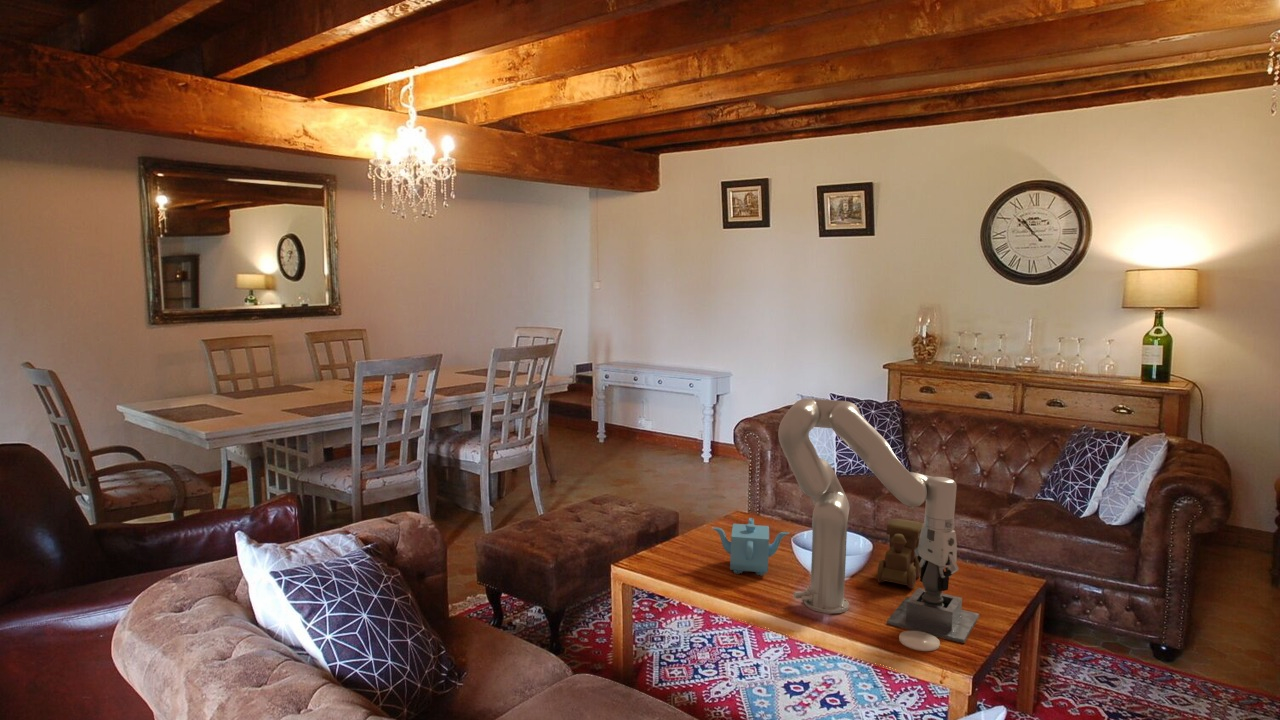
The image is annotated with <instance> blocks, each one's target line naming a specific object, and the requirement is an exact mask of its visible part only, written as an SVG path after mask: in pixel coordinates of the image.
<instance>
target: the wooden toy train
mask: <svg viewBox="0 0 1280 720" xmlns="http://www.w3.org/2000/svg"><path fill="white" fill-rule="evenodd" d="M923 524H924V522H919V521H915V520H910V519H909V520H908V519H905V518H904V519H903V518H902V519H901V518H892V519H890V520H889V521H888V522H887V524H886V525H887V526H886V535H888V536H889V541H888V542H889V548H888V550H887V551H886V552H885V555H884V559H881V560H879V562H878V566H877V572H876V578H877V581H878V582H879V583H880V584H882V583H884V582H885V581H886V582H889V583H894V584H900V585H905V586H907V588H908V589H914V588H915V584H916V579H917V578H920V573H921V567H920V566H919V564H920V563H919V561H918V559H917V555H916V554H915V551H914V550H915V549H916V548H917V547H918V546H919V540H920V534H921V530H922V526H923Z"/></svg>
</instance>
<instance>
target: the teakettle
mask: <svg viewBox="0 0 1280 720" xmlns="http://www.w3.org/2000/svg"><path fill="white" fill-rule="evenodd" d="M754 522H755V519H754V518H753V517H749V518H748V523H745V524H744V523H732V529H731V535H730V541H729V540H728V538H727V536H726V533H725V531H724V530H723V528H720V527H718V526H717V527H716V526H712V527H711V529H712V530H714V531H716V532H717V534H718V536H719V538H720V541H721V545H722V547H723V549H724V551H725V552H726V553H728V554H730V556H729V557H730V560H729V561H730V562H729V570H730V571H732V573H733V572H734V573H733V574H735V573H736V574H737V575H741V574H743V572H752V573H755V575H756V574H757V576H759V575H763V576H765V575H766V574H767V573H769V557H772V556H773V555H775V554H776V552H777V551H778V549H779V547H780V544H781V541H782V539H783V538H784V537H785V536H787V535H790V532H788V531H782V532H779V533H778V534H776V537H775V539H774V541H773V542H772V543H771V544H770V527H769V525H759V524H758V525H757V524H755V523H754ZM740 573H741V574H740Z"/></svg>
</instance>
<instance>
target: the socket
mask: <svg viewBox="0 0 1280 720" xmlns="http://www.w3.org/2000/svg"><path fill="white" fill-rule="evenodd" d="M925 592H926V591H925V588H921V587H918V588H917V589H915V591H914V592H913V594H912V595H911V596H910V597H909V596H906V597H905V598H904V599H903V601H902V602H901V603H900V604H899V606H898V607H897V608H896V609H895V610H894V611H893V613H892V614H891V615H890V616H889V618H887V620H886V625H890V626H893V627H897V628H901V629H905V630H907V631H921V632H925V633H928V634H931V635H933V636H935V637H936V638H941V639H944V640H948V641H951V640H952V642H955V641H956V643H959V642H961V644H963V643H964V644H965V643H966V641H967V639H968V638H969V636H970V634H971V632H972V630H973V629H972V628H974V627H975V626H976V624H977V622H976V621H978V620H977V619H980V613H977V612H974V611H970V610H965V609H962V607H963V606H962V605H963V597H960V596H956V595H951V594H949V593H948V594H946V593H944V592H942V593H941V596H942V598H943V600H944V602H943V604H944V607H940V606H935V605H931V604H927V603H923V602H921V600H922V595H923V594H924V593H925ZM968 635H969V636H968ZM967 637H968V638H967Z"/></svg>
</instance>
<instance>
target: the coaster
mask: <svg viewBox="0 0 1280 720" xmlns="http://www.w3.org/2000/svg"><path fill="white" fill-rule="evenodd" d="M938 638H939V637H936V636H933V635H931V634H928V633H925V632H921V631H912V630H905V631H902V632H900V634H899V636H898V640H899V642H900V643H901V644H902V645H903V646H904V647H907V648H908V649H911V650H915V651H919V652H920V651H921V652H932V651H933V652H934V651H936V650H938V649H939V648H940V647H939V646H941V641H940V640H939V639H938Z"/></svg>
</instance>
